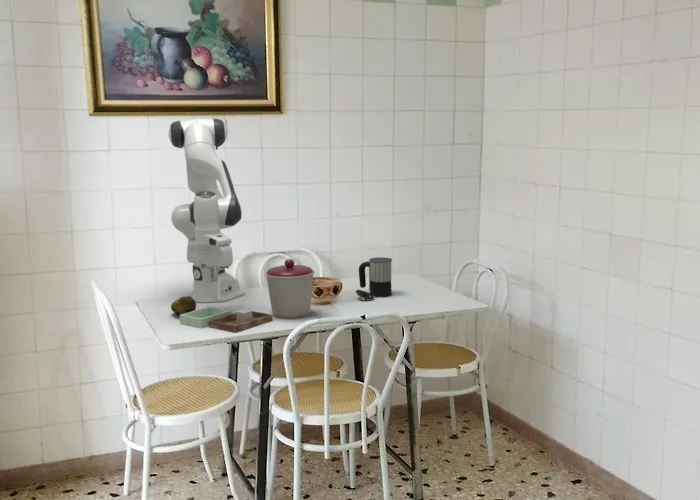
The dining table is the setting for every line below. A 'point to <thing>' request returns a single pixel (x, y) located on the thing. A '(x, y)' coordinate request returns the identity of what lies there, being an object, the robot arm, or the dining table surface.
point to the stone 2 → (243, 316)
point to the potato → (183, 305)
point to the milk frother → (376, 278)
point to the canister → (290, 289)
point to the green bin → (202, 316)
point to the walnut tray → (231, 324)
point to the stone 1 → (208, 274)
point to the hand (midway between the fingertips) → (210, 277)
